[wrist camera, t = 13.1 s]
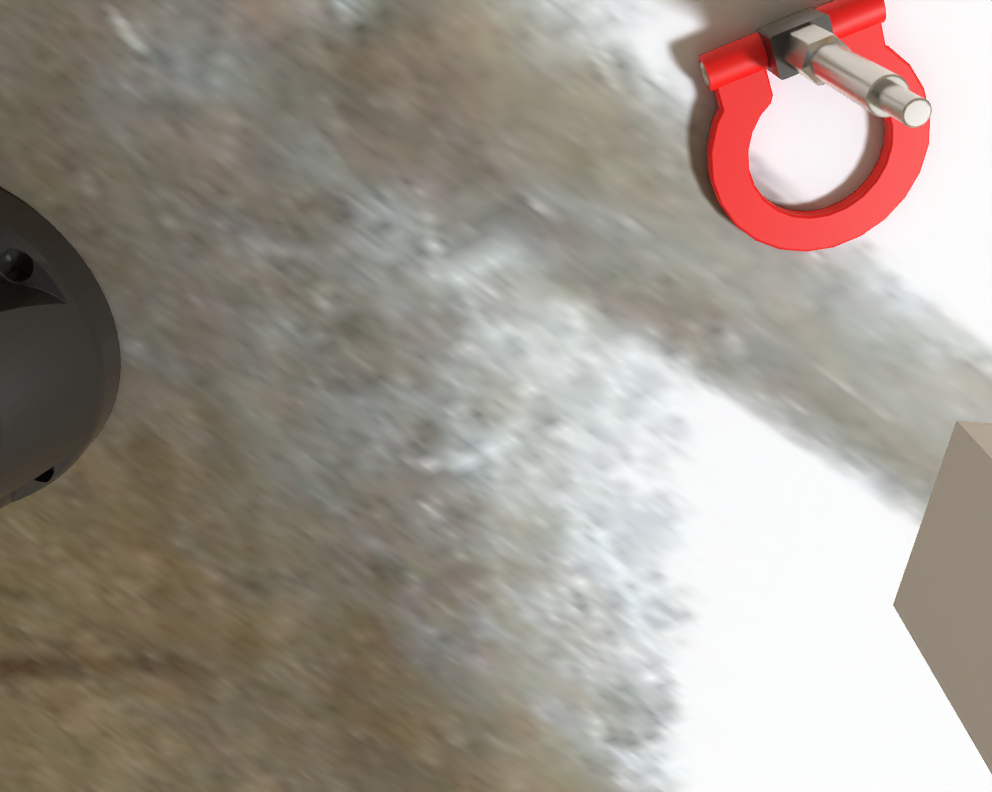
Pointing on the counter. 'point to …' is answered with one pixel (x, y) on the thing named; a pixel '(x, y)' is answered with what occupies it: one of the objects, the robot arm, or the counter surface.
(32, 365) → the robot arm
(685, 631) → the counter surface
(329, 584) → the counter surface
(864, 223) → the tow hook
